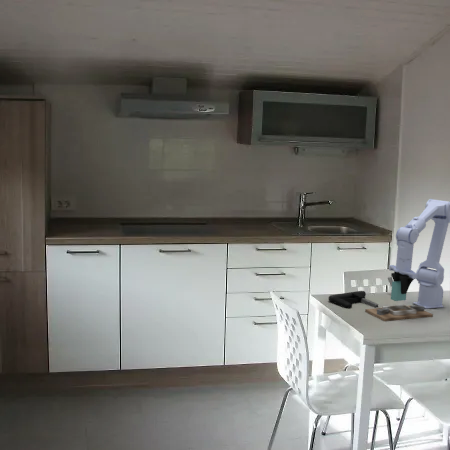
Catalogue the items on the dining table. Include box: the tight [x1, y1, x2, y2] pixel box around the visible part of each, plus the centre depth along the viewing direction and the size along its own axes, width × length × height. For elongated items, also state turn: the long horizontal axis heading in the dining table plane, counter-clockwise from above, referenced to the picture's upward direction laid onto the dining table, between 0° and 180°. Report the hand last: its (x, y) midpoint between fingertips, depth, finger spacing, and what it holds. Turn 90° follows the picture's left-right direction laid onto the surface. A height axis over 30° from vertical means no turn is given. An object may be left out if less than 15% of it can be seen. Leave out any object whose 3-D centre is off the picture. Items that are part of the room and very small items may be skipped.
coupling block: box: [390, 281, 407, 302], centre depth 232 cm, size 3×5×7 cm, turn 113°
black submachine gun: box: [328, 290, 379, 309], centre depth 246 cm, size 3×20×16 cm
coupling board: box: [364, 304, 434, 322], centre depth 233 cm, size 23×12×3 cm, turn 113°
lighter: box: [387, 276, 394, 288], centre depth 261 cm, size 7×2×8 cm, turn 60°
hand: (400, 292), depth 232 cm, fingers closed on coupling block, 3 cm apart
